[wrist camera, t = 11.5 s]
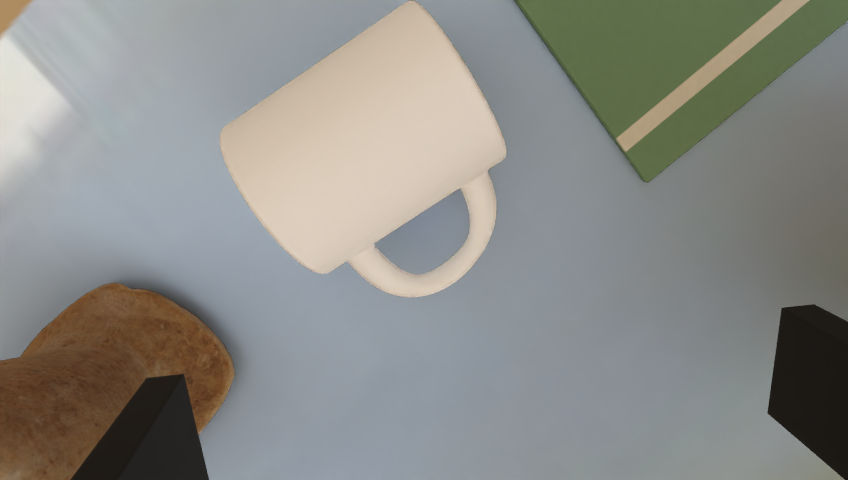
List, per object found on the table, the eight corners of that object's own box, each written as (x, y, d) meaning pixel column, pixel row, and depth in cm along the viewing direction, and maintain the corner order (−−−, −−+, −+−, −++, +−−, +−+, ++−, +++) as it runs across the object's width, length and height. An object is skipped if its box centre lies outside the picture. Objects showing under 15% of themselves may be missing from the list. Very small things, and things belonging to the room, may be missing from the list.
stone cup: (85, 222, 28) (-198, 380, 14) (268, 354, 31) (191, 589, 17) (-74, 416, 30) (-459, 722, 16) (112, 519, 34) (-70, 848, 20)
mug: (240, 120, 27) (193, 140, 20) (404, 8, 27) (420, -16, 19) (373, 298, 31) (376, 372, 24) (521, 204, 30) (573, 249, 23)
